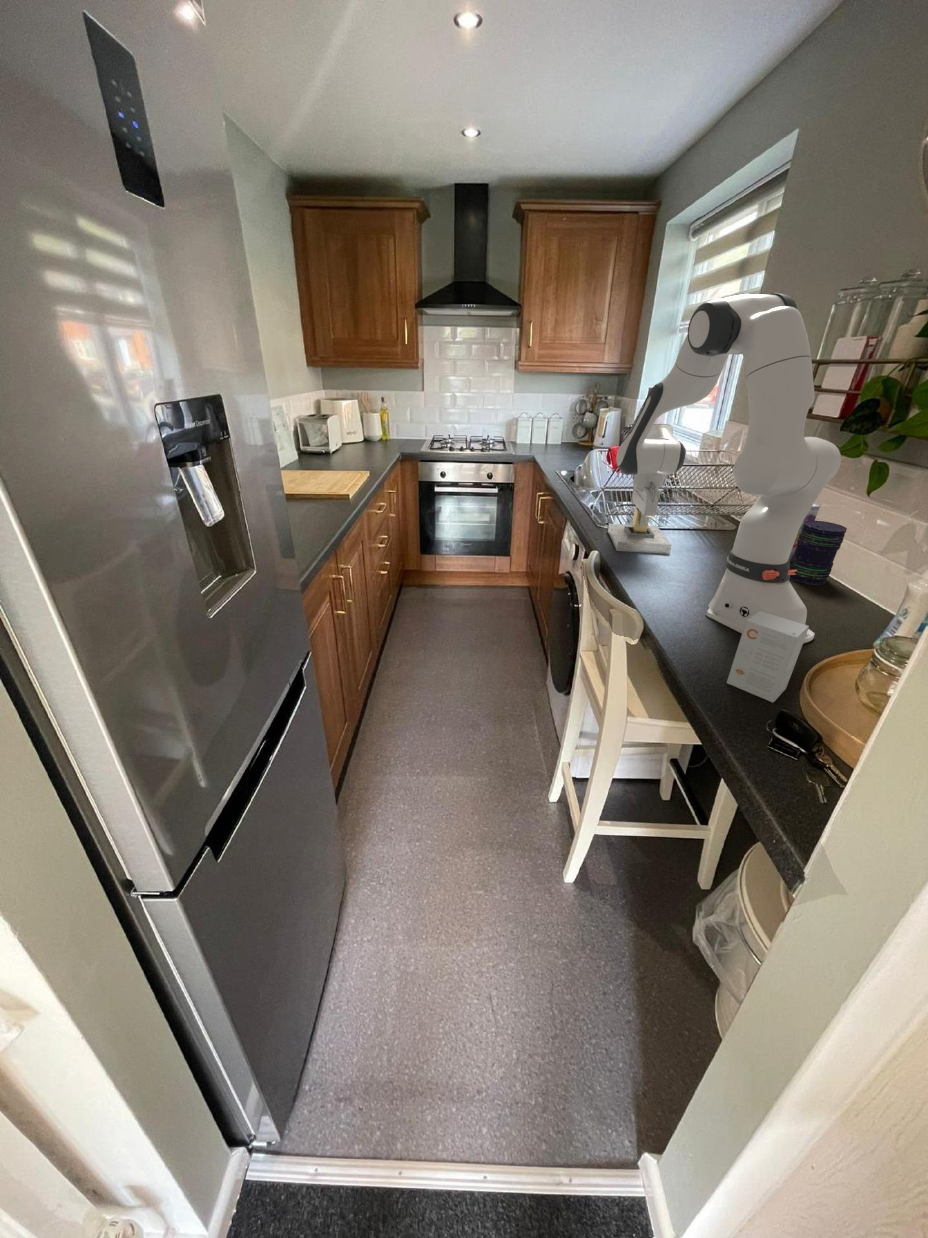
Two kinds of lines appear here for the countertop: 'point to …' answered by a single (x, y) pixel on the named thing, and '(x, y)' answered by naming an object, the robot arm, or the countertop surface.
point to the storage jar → (816, 551)
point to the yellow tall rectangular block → (635, 524)
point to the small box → (767, 655)
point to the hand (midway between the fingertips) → (640, 523)
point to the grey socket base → (639, 539)
